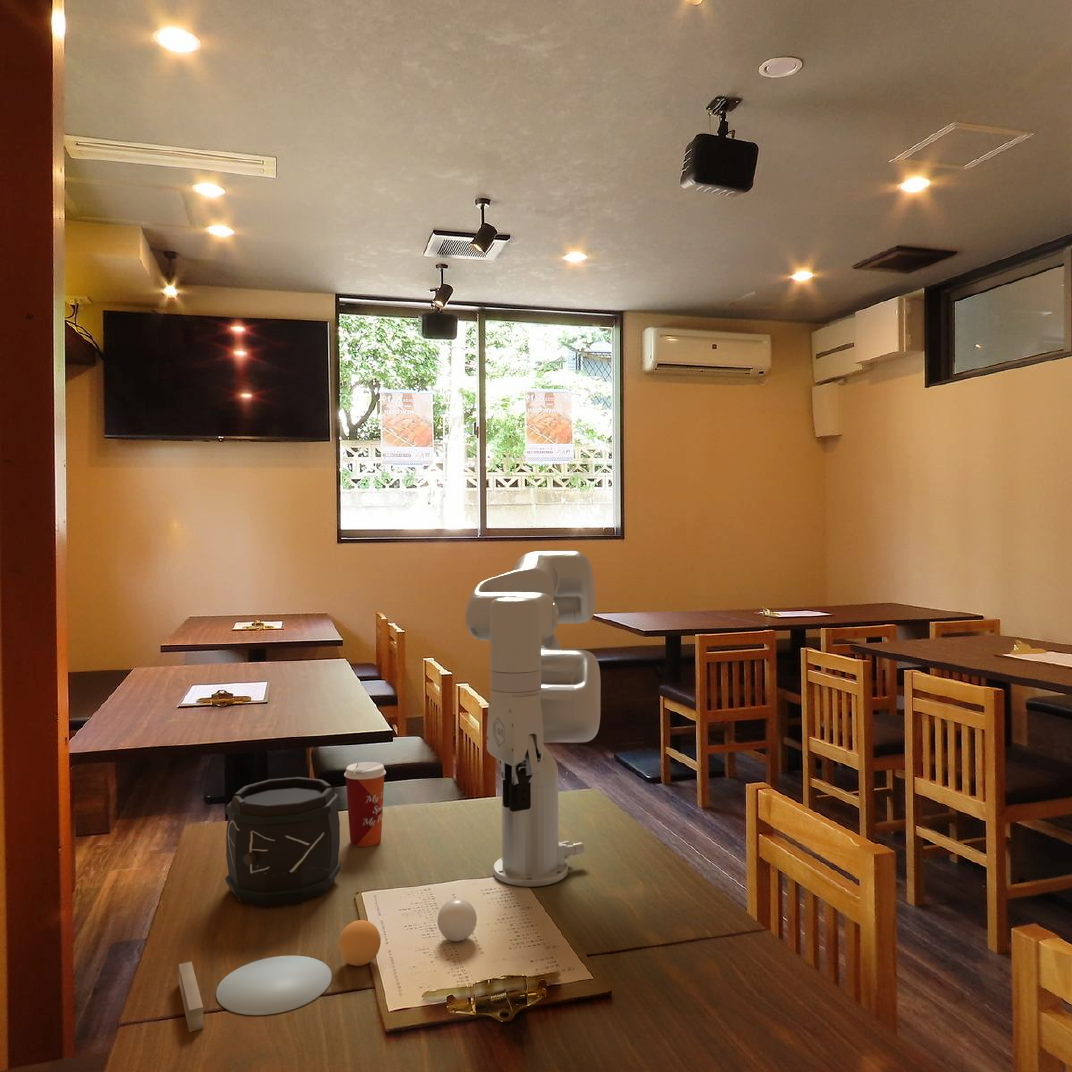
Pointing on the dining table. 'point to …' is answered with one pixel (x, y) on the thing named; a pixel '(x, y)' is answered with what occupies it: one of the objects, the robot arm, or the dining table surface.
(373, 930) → the object ball
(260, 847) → the dark grey barrel
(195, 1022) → the rail
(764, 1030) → the dining table surface
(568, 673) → the robot arm
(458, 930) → the cue ball
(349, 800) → the paper cup
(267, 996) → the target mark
